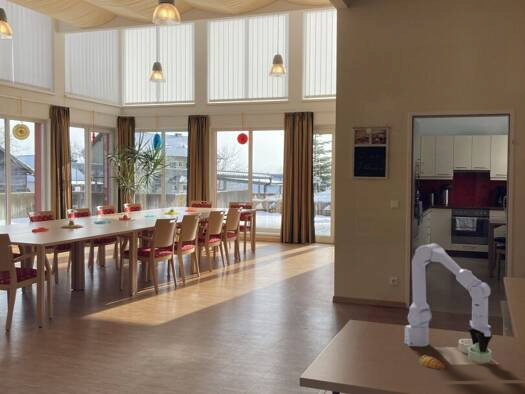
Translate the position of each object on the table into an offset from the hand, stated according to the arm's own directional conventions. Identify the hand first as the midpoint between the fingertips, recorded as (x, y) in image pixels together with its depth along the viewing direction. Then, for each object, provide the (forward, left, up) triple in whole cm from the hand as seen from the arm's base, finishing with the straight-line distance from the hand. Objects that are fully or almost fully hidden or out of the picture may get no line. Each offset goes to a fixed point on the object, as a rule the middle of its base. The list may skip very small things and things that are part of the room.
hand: (479, 349), depth 204 cm
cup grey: (0, +9, -4) cm, 10 cm away
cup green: (0, 0, -4) cm, 4 cm away
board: (-4, +4, -5) cm, 8 cm away
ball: (0, 0, -2) cm, 2 cm away
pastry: (-20, -5, -5) cm, 22 cm away
